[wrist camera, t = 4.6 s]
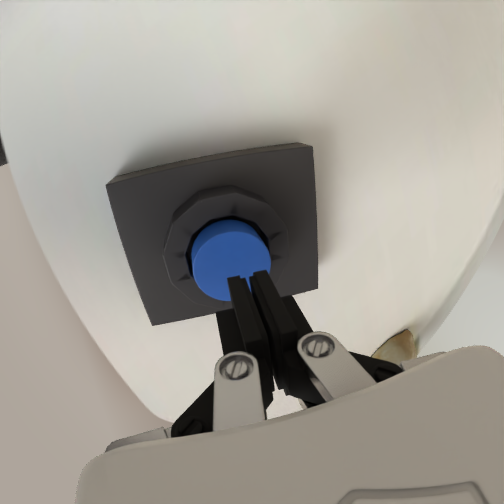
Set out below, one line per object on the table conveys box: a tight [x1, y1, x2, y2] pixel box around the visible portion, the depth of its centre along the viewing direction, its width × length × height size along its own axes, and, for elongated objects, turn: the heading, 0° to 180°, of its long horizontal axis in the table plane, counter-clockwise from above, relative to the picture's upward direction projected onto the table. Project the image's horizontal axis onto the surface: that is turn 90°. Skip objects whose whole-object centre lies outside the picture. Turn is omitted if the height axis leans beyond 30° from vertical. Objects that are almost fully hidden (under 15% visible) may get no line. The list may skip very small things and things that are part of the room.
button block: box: [106, 143, 318, 326], centre depth 18 cm, size 12×10×4 cm
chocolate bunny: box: [371, 329, 417, 365], centre depth 26 cm, size 6×8×10 cm
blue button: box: [191, 220, 271, 301], centre depth 16 cm, size 4×4×2 cm
